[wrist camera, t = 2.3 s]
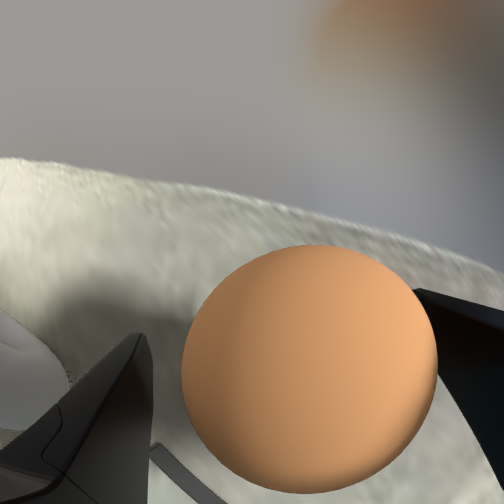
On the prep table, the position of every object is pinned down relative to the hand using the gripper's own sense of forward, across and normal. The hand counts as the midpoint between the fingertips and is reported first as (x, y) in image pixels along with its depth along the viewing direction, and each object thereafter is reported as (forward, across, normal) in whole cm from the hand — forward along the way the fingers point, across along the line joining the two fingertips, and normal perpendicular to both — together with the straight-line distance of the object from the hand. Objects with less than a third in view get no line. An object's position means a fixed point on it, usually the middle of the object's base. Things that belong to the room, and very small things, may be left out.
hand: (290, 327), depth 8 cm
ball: (-2, 0, 0) cm, 2 cm away
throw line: (-2, +3, +12) cm, 13 cm away
